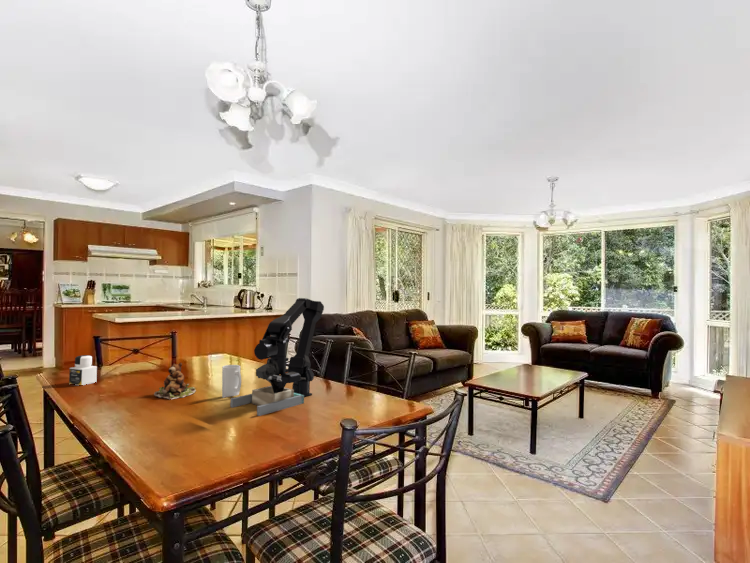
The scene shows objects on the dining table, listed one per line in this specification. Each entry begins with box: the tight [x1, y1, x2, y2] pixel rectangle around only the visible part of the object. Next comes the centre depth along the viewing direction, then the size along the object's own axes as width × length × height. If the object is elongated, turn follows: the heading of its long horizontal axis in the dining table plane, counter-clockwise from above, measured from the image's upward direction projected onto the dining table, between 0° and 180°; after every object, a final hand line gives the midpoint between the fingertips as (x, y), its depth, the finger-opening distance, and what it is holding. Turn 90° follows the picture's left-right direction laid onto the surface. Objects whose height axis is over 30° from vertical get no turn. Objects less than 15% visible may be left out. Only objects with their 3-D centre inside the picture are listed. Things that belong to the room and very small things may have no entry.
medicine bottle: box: [68, 354, 98, 386], centre depth 180 cm, size 7×7×12 cm
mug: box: [221, 364, 242, 399], centre depth 162 cm, size 10×7×12 cm, turn 50°
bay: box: [229, 393, 305, 417], centre depth 149 cm, size 20×16×4 cm
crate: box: [251, 385, 294, 406], centre depth 151 cm, size 10×11×5 cm
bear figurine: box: [153, 362, 197, 400], centre depth 165 cm, size 14×15×12 cm
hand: (277, 398), depth 153 cm, fingers closed, pressing on crate
